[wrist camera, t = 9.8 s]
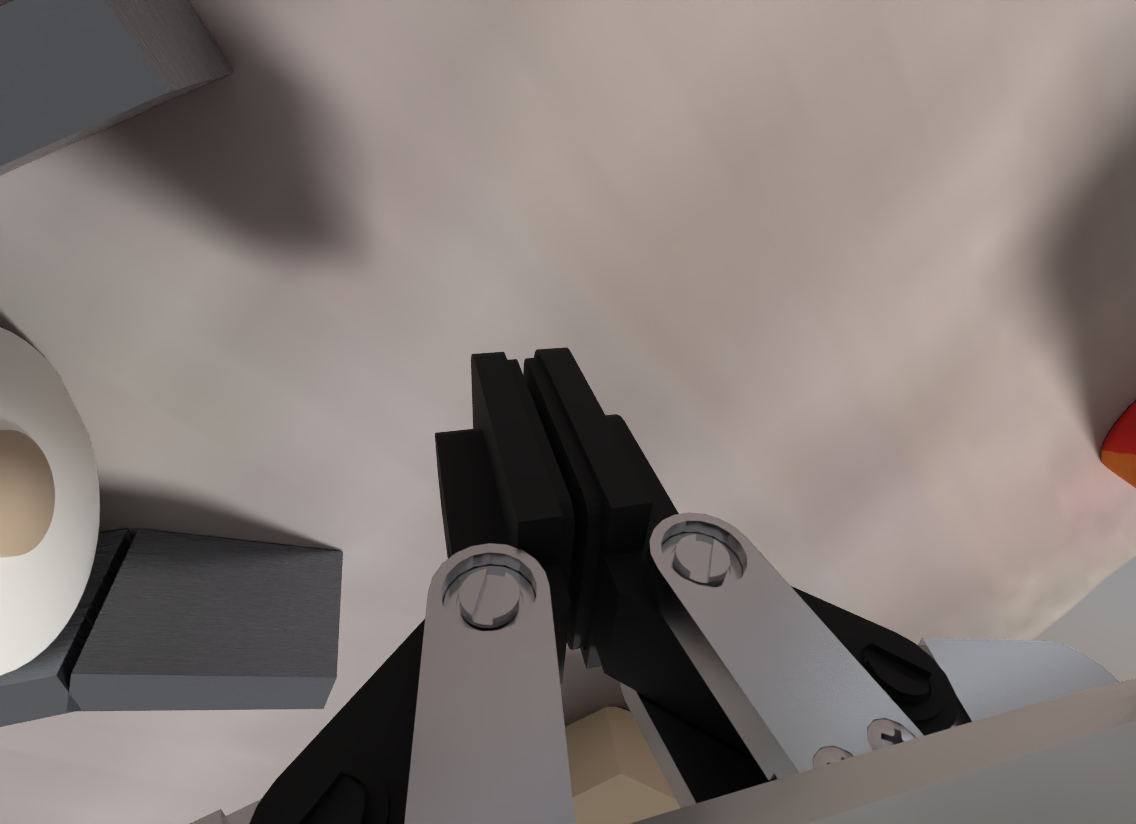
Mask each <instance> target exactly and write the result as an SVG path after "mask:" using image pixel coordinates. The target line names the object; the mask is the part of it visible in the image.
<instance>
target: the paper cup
mask: <svg viewBox="0 0 1136 824" xmlns="http://www.w3.org/2000/svg"><path fill="white" fill-rule="evenodd" d="M1101 461H1102V463H1103V464H1104V465H1105V466H1106V467H1107V468H1108V469H1110V470H1111V471H1112V472H1114V473H1115V474H1116V475H1118V476H1119V477H1121V478H1122V479H1123V480H1125V481H1126V482H1128V483H1129V484H1131V485H1132V486H1134V487H1135V488H1136V401H1135V402H1134V403H1133V404H1132V405H1131V406H1130V407H1129V408H1128V409H1127V410H1126V411H1125V412H1124V413H1123V414H1122V416H1121V417H1120V418H1119V419H1118V420H1117V422H1116V423H1115V424H1114V426H1113V427H1112V429H1111V430H1110V432H1109V433H1108V435H1107V437H1106V439H1105V441H1104V443H1103V446H1102V449H1101Z"/></svg>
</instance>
